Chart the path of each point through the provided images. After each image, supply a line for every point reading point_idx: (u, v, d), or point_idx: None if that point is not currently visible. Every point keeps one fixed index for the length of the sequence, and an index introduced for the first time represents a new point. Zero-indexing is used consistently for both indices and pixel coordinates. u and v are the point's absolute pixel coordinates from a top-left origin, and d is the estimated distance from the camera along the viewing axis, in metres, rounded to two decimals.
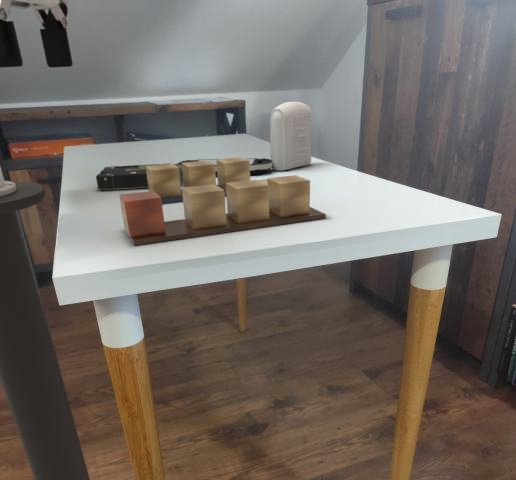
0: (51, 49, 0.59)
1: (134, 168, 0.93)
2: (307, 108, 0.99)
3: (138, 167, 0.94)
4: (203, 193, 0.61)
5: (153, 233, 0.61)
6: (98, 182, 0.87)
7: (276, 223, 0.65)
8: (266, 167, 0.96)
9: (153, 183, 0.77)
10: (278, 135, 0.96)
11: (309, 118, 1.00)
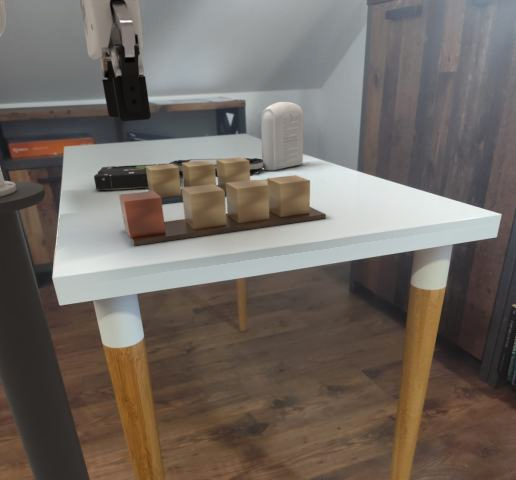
0: (116, 99, 0.58)
1: (132, 168, 0.93)
2: (298, 108, 0.99)
3: (136, 167, 0.94)
4: (203, 193, 0.61)
5: (153, 233, 0.61)
6: (96, 182, 0.87)
7: (276, 223, 0.65)
8: (257, 167, 0.97)
9: (153, 183, 0.77)
10: (268, 135, 0.97)
11: (300, 118, 1.00)
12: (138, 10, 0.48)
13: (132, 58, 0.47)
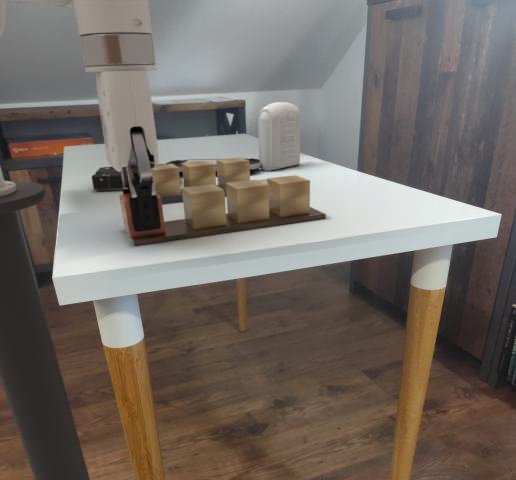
0: None
1: None
2: (295, 108, 0.99)
3: None
4: (203, 193, 0.61)
5: (153, 233, 0.61)
6: (94, 183, 0.87)
7: (276, 223, 0.65)
8: (254, 167, 0.97)
9: None
10: (265, 135, 0.97)
11: (297, 118, 1.00)
12: (155, 134, 0.53)
13: None
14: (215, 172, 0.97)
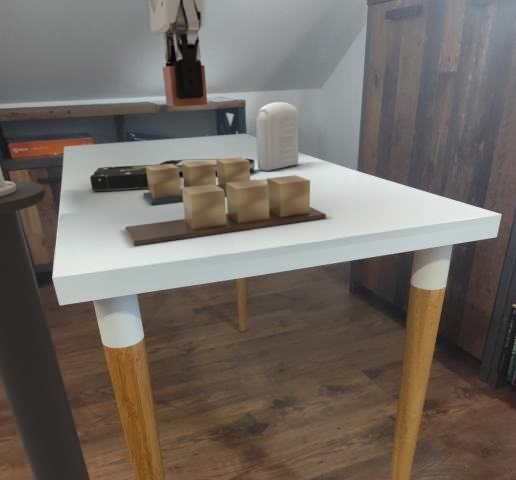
0: None
1: (128, 169, 0.92)
2: (293, 108, 0.99)
3: (132, 168, 0.93)
4: (203, 193, 0.61)
5: (195, 103, 0.62)
6: (92, 183, 0.87)
7: (276, 223, 0.65)
8: None
9: (153, 183, 0.77)
10: (263, 135, 0.97)
11: (295, 118, 1.00)
12: None
13: None
14: None
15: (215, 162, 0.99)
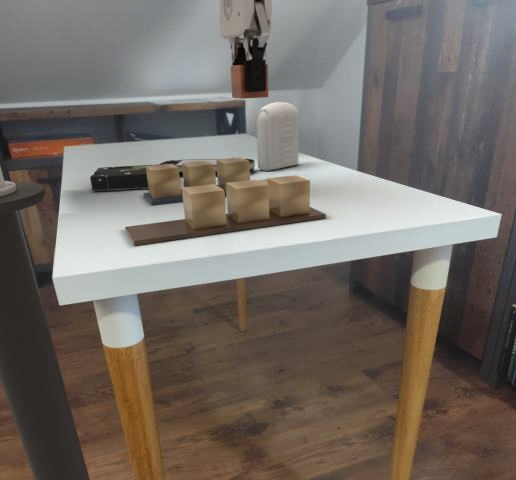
0: None
1: (128, 169, 0.92)
2: (294, 108, 0.99)
3: (132, 168, 0.93)
4: (203, 193, 0.61)
5: (259, 96, 0.74)
6: (92, 183, 0.87)
7: (276, 223, 0.65)
8: None
9: (153, 183, 0.77)
10: (264, 135, 0.97)
11: (296, 118, 1.00)
12: (271, 2, 0.67)
13: (261, 47, 0.69)
14: None
15: (215, 162, 0.99)
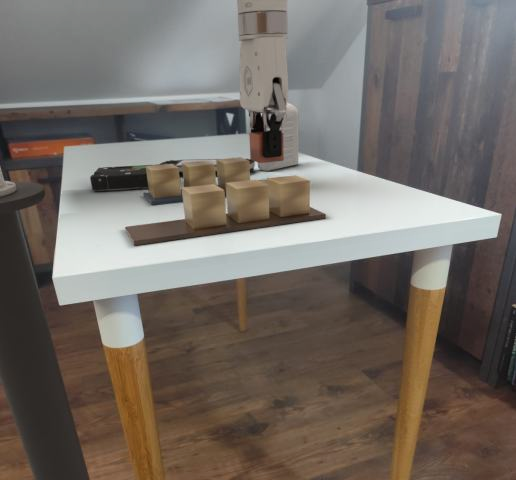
0: None
1: (128, 169, 0.92)
2: (293, 108, 0.99)
3: (132, 168, 0.93)
4: (203, 193, 0.61)
5: (275, 160, 0.83)
6: (92, 183, 0.87)
7: (276, 223, 0.65)
8: None
9: (153, 183, 0.77)
10: None
11: (296, 118, 1.00)
12: (287, 83, 0.76)
13: None
14: None
15: (215, 162, 0.99)
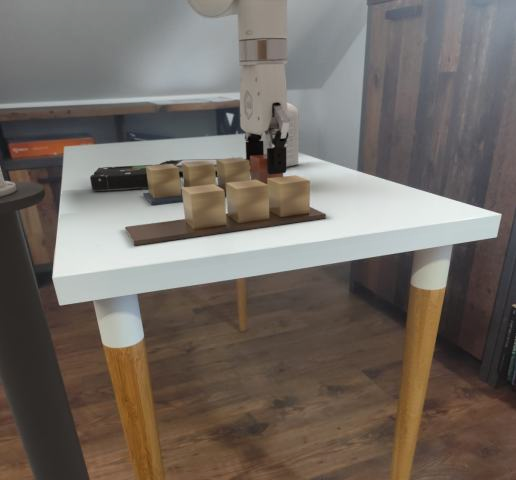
0: (253, 154, 0.88)
1: (128, 169, 0.92)
2: (294, 108, 0.99)
3: (132, 168, 0.93)
4: (203, 193, 0.61)
5: None
6: (92, 183, 0.87)
7: (276, 223, 0.65)
8: None
9: (153, 183, 0.77)
10: (264, 135, 0.97)
11: (296, 118, 1.00)
12: (286, 108, 0.77)
13: (283, 138, 0.77)
14: None
15: (215, 162, 0.99)
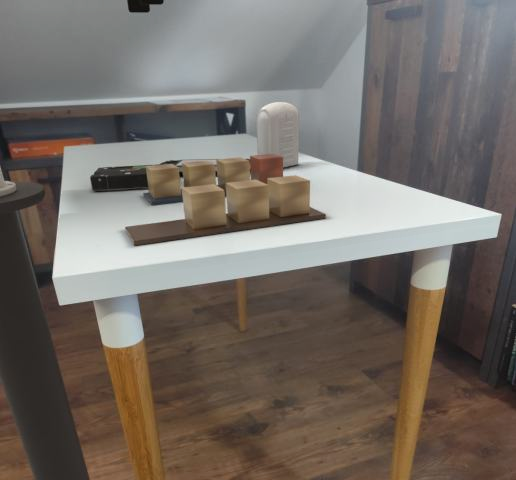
0: None
1: (128, 169, 0.92)
2: (294, 108, 0.99)
3: (132, 168, 0.93)
4: (203, 193, 0.61)
5: None
6: (92, 183, 0.87)
7: (276, 223, 0.65)
8: None
9: (153, 183, 0.77)
10: (264, 135, 0.97)
11: (296, 118, 1.00)
12: None
13: None
14: None
15: (215, 162, 0.99)
